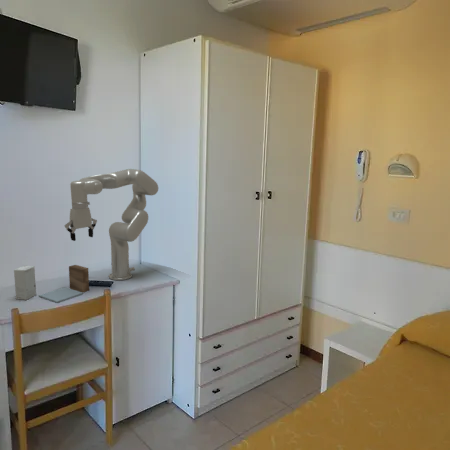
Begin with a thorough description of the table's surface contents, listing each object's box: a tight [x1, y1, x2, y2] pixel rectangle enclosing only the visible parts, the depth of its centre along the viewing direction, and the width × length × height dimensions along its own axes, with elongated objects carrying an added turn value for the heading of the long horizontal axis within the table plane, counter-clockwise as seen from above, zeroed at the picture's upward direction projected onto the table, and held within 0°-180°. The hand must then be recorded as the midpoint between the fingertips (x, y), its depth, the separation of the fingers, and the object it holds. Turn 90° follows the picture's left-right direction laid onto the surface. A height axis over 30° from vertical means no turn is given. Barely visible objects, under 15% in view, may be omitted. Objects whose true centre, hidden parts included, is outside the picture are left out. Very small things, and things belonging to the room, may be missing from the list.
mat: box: [38, 286, 84, 304], centre depth 210 cm, size 15×14×1 cm
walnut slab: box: [68, 264, 90, 294], centre depth 218 cm, size 4×10×12 cm, turn 58°
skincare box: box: [13, 265, 37, 301], centre depth 206 cm, size 8×6×15 cm
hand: (82, 238), depth 216 cm, fingers open, 9 cm apart
